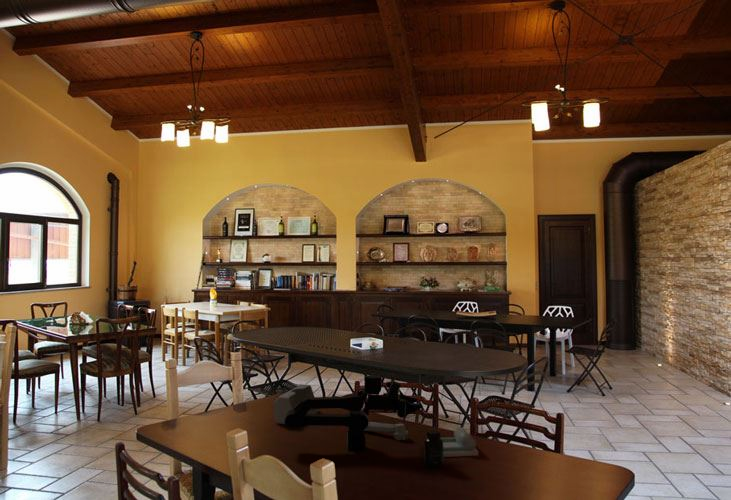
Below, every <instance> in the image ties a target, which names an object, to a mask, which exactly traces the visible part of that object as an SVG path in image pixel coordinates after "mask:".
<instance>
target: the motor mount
mask: <svg viewBox="0 0 731 500" xmlns="http://www.w3.org/2000/svg"><path fill="white" fill-rule="evenodd" d="M440 438H441V439H442V441H443V458H446V457H447V458H448V457H450V458H451V457H469V456H470V457H472V456H479V451H478V449H477V441H476V439H475V438H474V437H473V436H472V435H471V434H470V433H469V432H468V431H467V430H466V429H465V428H464V427H462V426H458V427H456V428H455V429H454V431H453V437H440Z"/></svg>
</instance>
